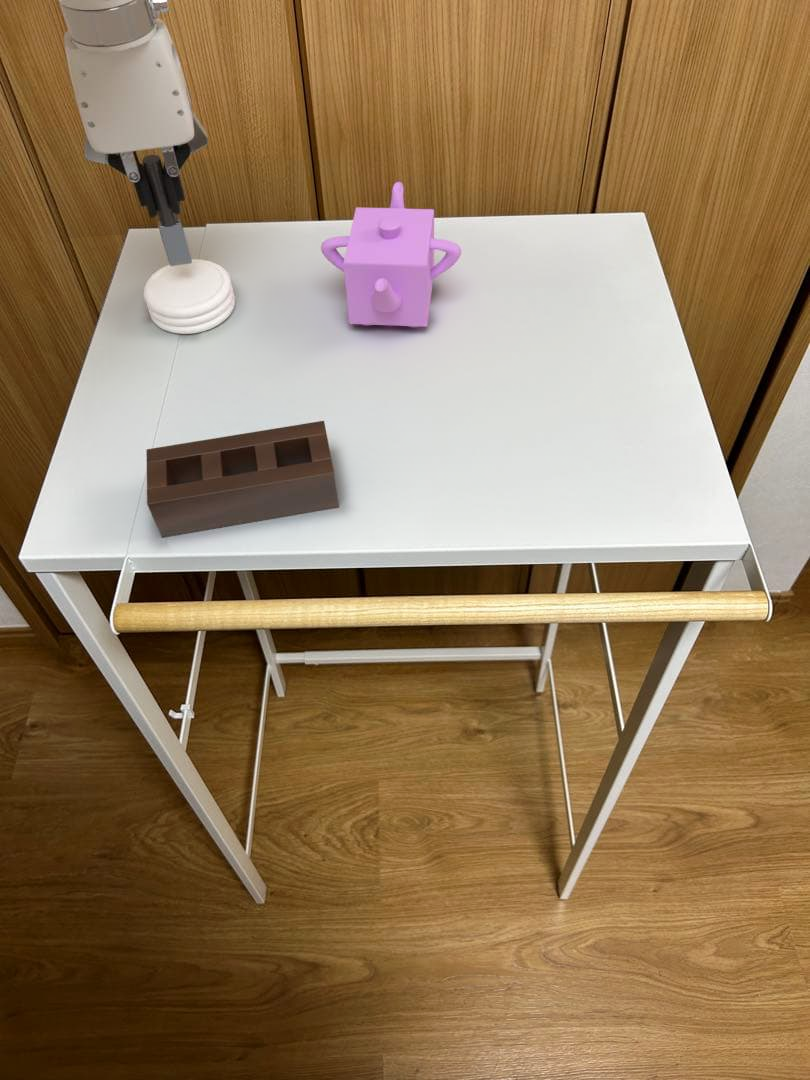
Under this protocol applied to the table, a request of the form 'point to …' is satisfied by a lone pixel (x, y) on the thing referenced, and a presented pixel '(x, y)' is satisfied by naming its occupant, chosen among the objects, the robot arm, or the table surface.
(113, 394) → the table surface
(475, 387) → the table surface
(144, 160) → the grey handled tool
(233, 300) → the white round stack
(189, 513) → the utensil block
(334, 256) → the teapot
